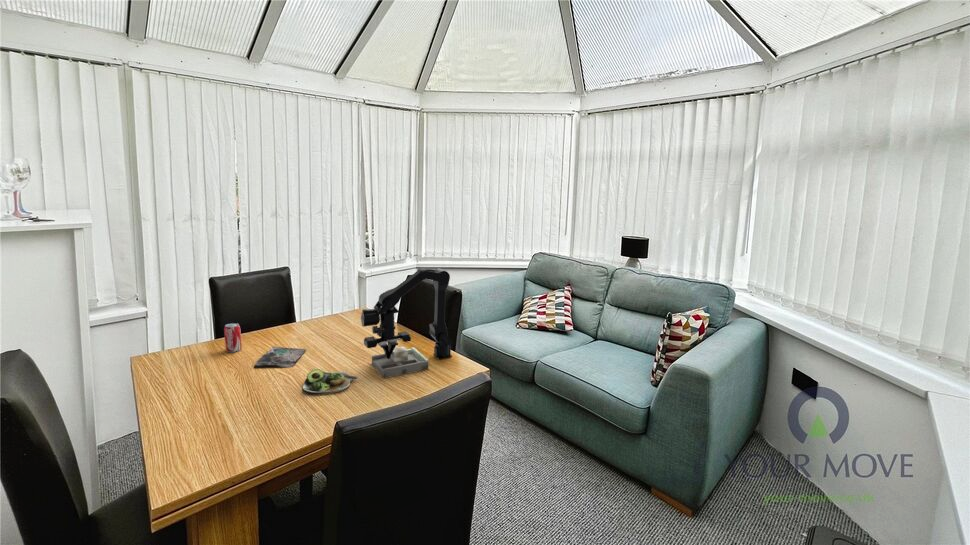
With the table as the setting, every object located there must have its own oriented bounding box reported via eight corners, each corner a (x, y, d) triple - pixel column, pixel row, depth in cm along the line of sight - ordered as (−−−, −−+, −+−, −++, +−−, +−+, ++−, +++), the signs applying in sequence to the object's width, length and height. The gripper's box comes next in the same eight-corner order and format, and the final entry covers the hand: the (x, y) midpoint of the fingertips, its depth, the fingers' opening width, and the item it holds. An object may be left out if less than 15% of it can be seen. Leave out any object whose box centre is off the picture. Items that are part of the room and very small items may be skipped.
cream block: (403, 355, 190) (403, 346, 190) (407, 359, 186) (407, 350, 185) (390, 357, 187) (390, 348, 187) (394, 361, 183) (394, 352, 182)
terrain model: (292, 369, 179) (292, 361, 178) (254, 369, 178) (253, 362, 177) (308, 350, 199) (307, 343, 198) (273, 350, 198) (273, 343, 197)
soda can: (245, 349, 196) (242, 324, 193) (230, 354, 190) (228, 328, 188) (237, 346, 199) (235, 321, 196) (223, 350, 194) (220, 325, 191)
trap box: (413, 355, 195) (413, 347, 194) (428, 369, 182) (428, 360, 181) (371, 363, 186) (371, 354, 185) (384, 378, 172) (383, 368, 171)
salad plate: (358, 373, 177) (358, 362, 176) (356, 393, 160) (355, 381, 159) (308, 376, 173) (307, 365, 172) (299, 397, 156) (299, 385, 155)
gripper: (401, 315, 192) (402, 348, 196) (359, 321, 183) (360, 355, 186) (411, 322, 183) (411, 357, 186) (367, 328, 174) (368, 365, 177)
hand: (388, 358), depth 184 cm, fingers closed
